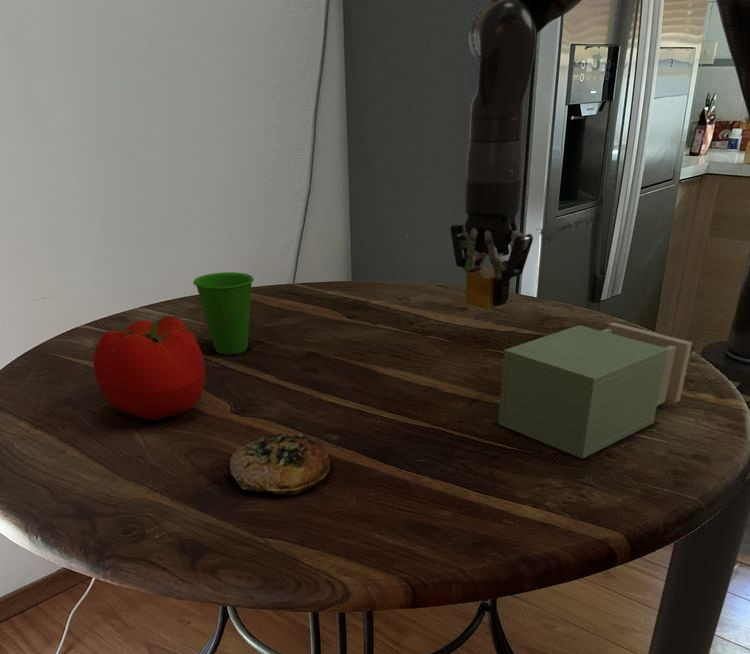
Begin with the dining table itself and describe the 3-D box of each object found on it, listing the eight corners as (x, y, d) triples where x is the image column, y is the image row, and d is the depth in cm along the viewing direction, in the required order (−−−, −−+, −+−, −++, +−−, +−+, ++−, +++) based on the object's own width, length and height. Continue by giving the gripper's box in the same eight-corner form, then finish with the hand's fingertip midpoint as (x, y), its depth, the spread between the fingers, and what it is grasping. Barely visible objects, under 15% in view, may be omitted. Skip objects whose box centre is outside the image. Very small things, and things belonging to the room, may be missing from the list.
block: (485, 297, 112) (487, 268, 110) (507, 303, 109) (509, 273, 107) (465, 303, 109) (466, 273, 107) (487, 309, 106) (489, 278, 104)
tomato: (152, 442, 88) (135, 347, 82) (82, 414, 95) (62, 325, 89) (234, 406, 97) (224, 318, 91) (164, 383, 104) (151, 301, 98)
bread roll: (334, 448, 85) (330, 411, 82) (327, 508, 76) (323, 469, 73) (240, 451, 86) (232, 414, 83) (222, 511, 77) (213, 473, 74)
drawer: (630, 366, 106) (639, 313, 102) (704, 388, 98) (717, 331, 94) (543, 402, 95) (549, 343, 91) (619, 430, 87) (630, 367, 83)
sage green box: (570, 394, 99) (579, 324, 94) (653, 423, 91) (668, 348, 86) (497, 424, 91) (503, 349, 86) (582, 459, 83) (594, 378, 78)
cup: (270, 350, 116) (264, 279, 111) (219, 363, 111) (210, 290, 106) (242, 336, 122) (235, 269, 117) (192, 348, 118) (182, 278, 112)
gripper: (552, 178, 98) (540, 306, 106) (473, 170, 107) (468, 288, 116) (515, 184, 93) (506, 316, 102) (437, 175, 103) (434, 297, 112)
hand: (486, 300), depth 109 cm, fingers closed on block, 4 cm apart
